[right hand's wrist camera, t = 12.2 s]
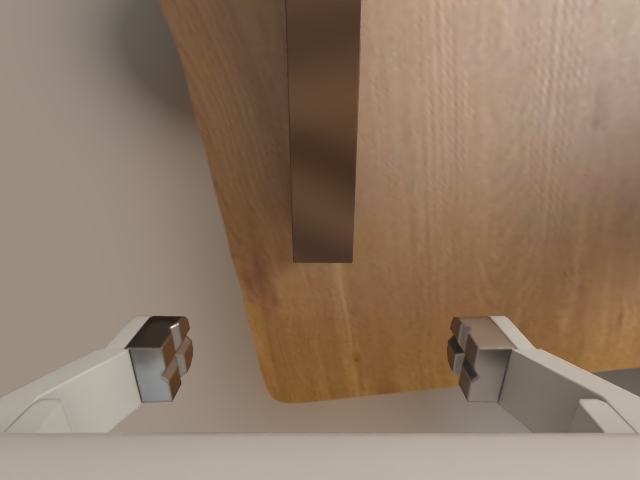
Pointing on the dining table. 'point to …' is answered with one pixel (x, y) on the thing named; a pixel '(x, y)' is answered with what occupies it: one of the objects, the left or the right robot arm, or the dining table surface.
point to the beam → (323, 125)
